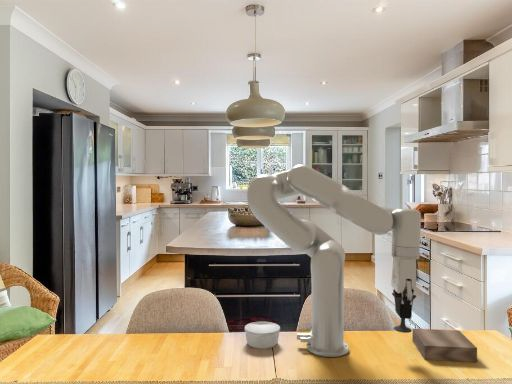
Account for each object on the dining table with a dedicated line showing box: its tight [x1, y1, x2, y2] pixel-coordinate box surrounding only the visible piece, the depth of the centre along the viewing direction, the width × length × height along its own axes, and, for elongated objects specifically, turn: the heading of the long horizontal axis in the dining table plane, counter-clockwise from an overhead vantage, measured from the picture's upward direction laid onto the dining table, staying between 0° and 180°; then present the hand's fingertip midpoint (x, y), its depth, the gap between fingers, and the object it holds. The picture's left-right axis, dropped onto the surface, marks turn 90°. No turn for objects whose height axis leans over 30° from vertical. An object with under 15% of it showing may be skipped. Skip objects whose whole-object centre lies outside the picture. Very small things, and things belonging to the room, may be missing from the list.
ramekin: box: [244, 321, 281, 350], centre depth 129 cm, size 11×11×5 cm
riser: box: [411, 328, 478, 363], centre depth 123 cm, size 14×14×4 cm
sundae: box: [391, 289, 417, 334], centre depth 118 cm, size 7×7×15 cm
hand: (403, 314), depth 118 cm, fingers closed on sundae, 4 cm apart
